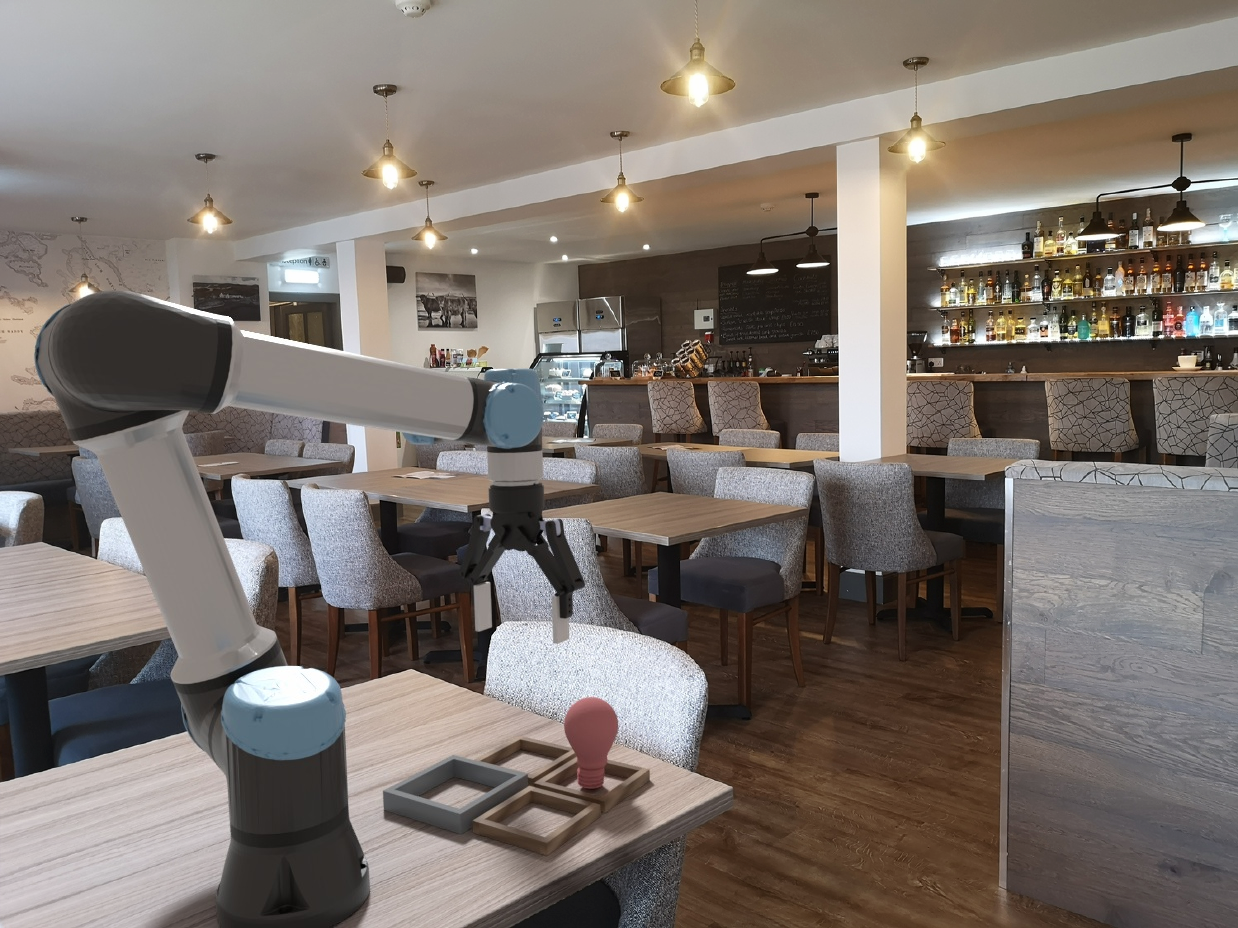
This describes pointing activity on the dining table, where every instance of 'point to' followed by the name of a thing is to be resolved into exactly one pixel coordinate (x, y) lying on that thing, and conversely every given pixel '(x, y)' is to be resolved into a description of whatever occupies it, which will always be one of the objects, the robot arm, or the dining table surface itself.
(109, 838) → the dining table surface
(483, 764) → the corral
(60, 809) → the dining table surface
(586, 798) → the frame
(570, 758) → the frame
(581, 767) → the light bulb
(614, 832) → the dining table surface
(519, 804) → the frame
